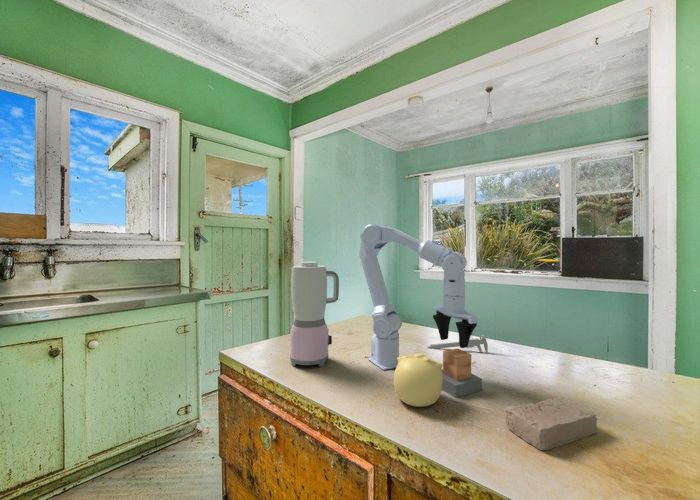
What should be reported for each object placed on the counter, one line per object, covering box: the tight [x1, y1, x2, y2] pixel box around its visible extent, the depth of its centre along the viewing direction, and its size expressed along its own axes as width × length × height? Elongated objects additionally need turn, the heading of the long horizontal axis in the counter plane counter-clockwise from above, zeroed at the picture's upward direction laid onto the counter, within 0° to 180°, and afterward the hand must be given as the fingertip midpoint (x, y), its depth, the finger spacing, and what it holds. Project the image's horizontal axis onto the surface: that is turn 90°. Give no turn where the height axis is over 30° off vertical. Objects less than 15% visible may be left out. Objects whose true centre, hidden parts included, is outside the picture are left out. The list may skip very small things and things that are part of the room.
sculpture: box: [392, 352, 443, 408], centre depth 75 cm, size 12×12×11 cm
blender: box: [289, 261, 340, 368], centre depth 100 cm, size 16×12×32 cm
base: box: [441, 368, 483, 399], centre depth 82 cm, size 9×9×3 cm
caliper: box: [426, 334, 489, 354], centre depth 110 cm, size 20×1×6 cm, turn 75°
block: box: [442, 347, 472, 381], centre depth 82 cm, size 5×5×6 cm
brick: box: [504, 396, 599, 451], centre depth 63 cm, size 17×8×5 cm, turn 111°
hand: (453, 343), depth 87 cm, fingers open, 7 cm apart
